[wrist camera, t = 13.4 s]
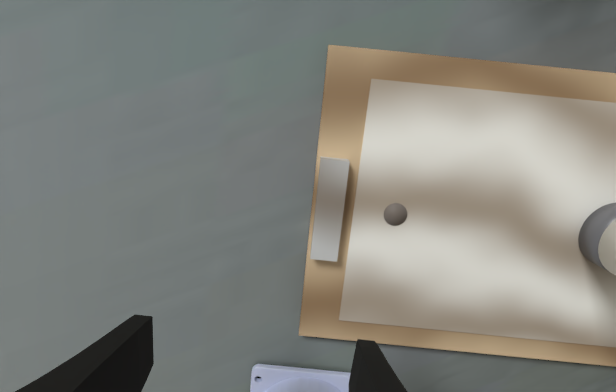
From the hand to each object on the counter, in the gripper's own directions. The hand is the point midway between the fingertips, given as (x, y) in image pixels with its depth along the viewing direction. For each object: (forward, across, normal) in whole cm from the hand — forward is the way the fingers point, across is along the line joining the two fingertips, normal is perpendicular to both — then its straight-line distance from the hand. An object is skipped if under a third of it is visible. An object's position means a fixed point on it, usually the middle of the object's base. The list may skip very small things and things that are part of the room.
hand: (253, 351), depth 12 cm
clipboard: (+10, -14, -2) cm, 17 cm away
